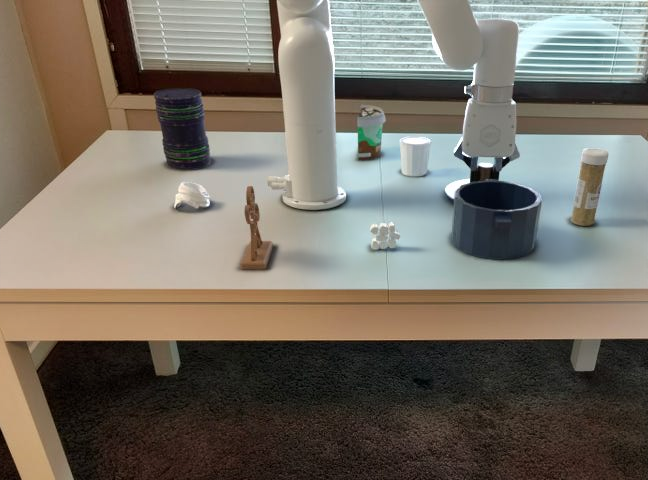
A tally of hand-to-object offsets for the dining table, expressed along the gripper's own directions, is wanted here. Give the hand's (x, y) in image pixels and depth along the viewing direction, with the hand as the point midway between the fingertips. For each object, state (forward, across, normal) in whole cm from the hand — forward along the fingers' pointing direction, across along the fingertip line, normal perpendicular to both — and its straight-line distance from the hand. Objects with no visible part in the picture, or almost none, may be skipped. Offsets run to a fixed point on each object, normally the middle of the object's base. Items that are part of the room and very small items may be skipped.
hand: (483, 187), depth 131 cm
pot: (+2, 0, -22) cm, 22 cm away
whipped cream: (+2, -57, -9) cm, 58 cm away
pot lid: (+1, 0, 0) cm, 1 cm away
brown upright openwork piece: (+2, -40, -31) cm, 51 cm away
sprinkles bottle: (+2, +18, -12) cm, 22 cm away
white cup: (+2, -14, +14) cm, 20 cm away
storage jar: (+2, -65, +16) cm, 67 cm away
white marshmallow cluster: (+2, -19, -26) cm, 32 cm away
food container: (+2, -24, +26) cm, 36 cm away
